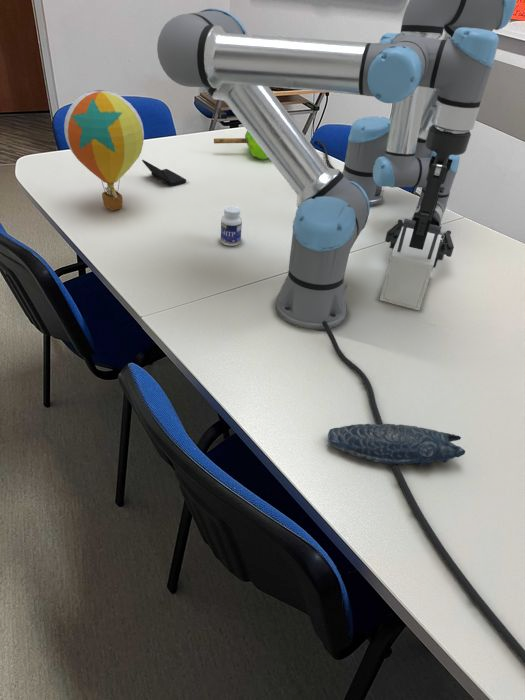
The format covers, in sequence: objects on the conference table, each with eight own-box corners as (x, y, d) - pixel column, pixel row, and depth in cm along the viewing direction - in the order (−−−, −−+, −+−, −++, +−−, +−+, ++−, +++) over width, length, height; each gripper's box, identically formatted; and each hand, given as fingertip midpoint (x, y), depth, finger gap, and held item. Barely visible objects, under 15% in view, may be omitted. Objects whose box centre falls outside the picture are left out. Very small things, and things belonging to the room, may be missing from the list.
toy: (64, 203, 145) (44, 85, 127) (127, 189, 156) (117, 79, 137) (97, 229, 134) (80, 105, 116) (162, 213, 145) (156, 96, 126)
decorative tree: (211, 118, 187) (292, 118, 192) (211, 148, 193) (289, 147, 198) (217, 133, 173) (303, 132, 178) (217, 164, 179) (301, 163, 185)
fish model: (463, 478, 79) (473, 457, 76) (326, 461, 80) (331, 439, 77) (455, 446, 85) (464, 424, 82) (326, 429, 86) (331, 408, 83)
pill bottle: (217, 243, 133) (217, 210, 128) (225, 235, 137) (226, 203, 132) (236, 248, 132) (237, 215, 127) (243, 239, 136) (245, 207, 131)
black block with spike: (190, 175, 164) (173, 153, 156) (179, 193, 163) (161, 172, 155) (166, 170, 170) (147, 148, 162) (155, 188, 169) (136, 167, 161)
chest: (419, 310, 116) (432, 268, 109) (379, 300, 118) (390, 258, 111) (427, 278, 128) (440, 238, 121) (391, 269, 130) (401, 230, 123)
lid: (432, 269, 109) (444, 232, 104) (389, 259, 111) (399, 222, 106) (440, 238, 121) (451, 204, 116) (402, 229, 123) (410, 195, 118)
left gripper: (437, 109, 105) (411, 208, 118) (421, 141, 87) (392, 255, 100) (475, 115, 103) (444, 215, 117) (467, 150, 85) (431, 264, 98)
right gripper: (463, 243, 138) (456, 282, 122) (383, 225, 143) (365, 260, 127) (472, 217, 134) (466, 254, 117) (389, 199, 139) (371, 232, 122)
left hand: (420, 234), depth 108 cm, fingers open, 13 cm apart
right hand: (414, 257), depth 122 cm, fingers closed on chest, 9 cm apart
